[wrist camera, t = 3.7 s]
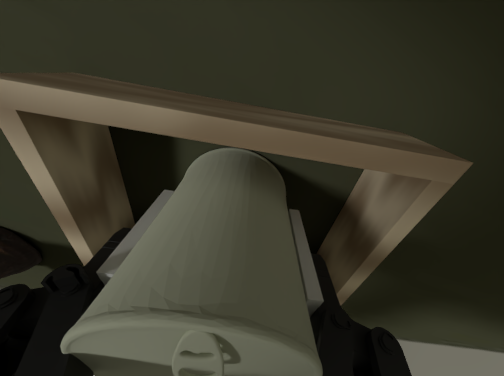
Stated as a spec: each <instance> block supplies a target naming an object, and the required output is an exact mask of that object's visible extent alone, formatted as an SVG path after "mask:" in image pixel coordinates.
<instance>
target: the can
mask: <svg viewBox="0 0 504 376" xmlns="http://www.w3.org/2000/svg"><path fill="white" fill-rule="evenodd" d="M60 347H61V351H62V353H63V354H68V353H70V354H72V355H74V356H75V357H77V358H78V359H80V360H81V361H82V362H83V363H84V364H86V365H87V366H88V367H89V368H90V369H91V370H92V371H93V372H94V374H93V375H95V376H322V375H323V369H322V364H321V361H320V359H319V356H318V352H317V348H316V344H315V339H314V335H313V331H312V326H311V322H310V317H309V313H308V308H307V304H306V299H305V294H304V289H303V285H302V280H301V275H300V270H299V265H298V260H297V255H296V250H295V245H294V240H293V235H292V231H291V225H290V220H289V214H288V209H287V203H286V188H285V184H284V181H283V178H282V176H281V174H280V173H279V171H278V170H277V169H276V167H275V166H274V165H273V164H272V163H271V162H269V161H268V160H267V159H266V158H264V157H263V156H261V155H259V154H257V153H255V152H252V151H249V150H246V149H241V148H220V149H216V150H212V151H210V152H207V153H205V154H203V155H201V156H200V157H198V158H197V159H196V160H195V161H194V162H193V163H192V164H191V165H190V167H189V168H188V170H187V172H186V174H185V176H184V178H183V180H182V181H181V183H180V184H179V186H178V187H177V189H176V190H175V191H174V193H173V194H172V196H171V197H170V198H169V200H168V201H167V203H166V204H165V205H164V207H163V208H162V210H161V211H160V212H159V214H158V215H157V216H156V218H155V219H154V221H153V222H152V223H151V225H150V226H149V227H148V229H147V230H146V231H145V233H144V234H143V236H142V237H141V238H140V240H139V241H138V242H137V244H136V245H135V246H134V248H133V249H132V250H131V252H130V253H129V254H128V256H127V257H126V259H125V260H124V261H123V263H122V264H121V265H120V267H119V268H118V269H117V271H116V272H115V273H114V275H113V276H112V277H111V279H110V280H109V281H108V283H107V284H106V285H105V287H104V288H103V289H102V291H101V292H100V293H99V295H98V296H97V297H96V298H95V300H94V301H93V302H92V304H91V305H90V306H89V308H88V309H87V310H86V312H85V313H84V314H83V315H82V316H81V318H80V319H79V320H78V321H77V322H76V324H75V325H74V326H73V327H72V328H70V330H69V331H68V332H67V333H66V334H65V336H64V337H63V339H62V342H61V345H60Z"/></svg>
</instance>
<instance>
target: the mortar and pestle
mask: <svg viewBox="0 0 504 376" xmlns="http://www.w3.org/2000/svg"><path fill="white" fill-rule="evenodd" d="M41 261H42V258H41V254H40V252H39V251H38V250H36V249H35V248H34V247H33V246H31V245H30V244H29V243H28V242H26V241H25V240H23V239H22V238H20V237H19V236H17V235H16V234H14V233H13V232H11V231H9V230H6V229H4V228H0V279H1V278H3V277H6V276H10V275H13V274H17V273H21V272H23V271H26V270H28V269H30V268H32V267H33V266H35V265H37V264H39V263H40V262H41Z"/></svg>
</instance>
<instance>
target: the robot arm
mask: <svg viewBox="0 0 504 376" xmlns="http://www.w3.org/2000/svg"><path fill="white" fill-rule="evenodd" d="M173 193H174V191H170V190H164V191H163V192H162V193H161V194H160V195H159V197H158V198H157V199H156V200H155V201H154V203H153V204H152V205H151V206H150V208H149V209H148V210H147V211H146V212H145V214H144V215H143V216H142V217H141V218H140V220H139V221H138V222H137V223H136V225H135V226H134V227H133V228H125V227H123V228H122V229H120V230H119V231H117V232H116V233H114V234H113V235H112V237H111V238H110V239H109V240H108V242H106V243H105V244H104V245H103V246H102V248H101V249H100V250H99V251H98V252H97V253H96V254H95V255H94V256H93V257H92V259H91V260H90V261H89V262H88V263H87V264H86V265H85V266H84V267H83V268H82V266H81V265H78V264H68V265H65V266H62V267H59V268H57V269H56V270H54V271H52V272H51V273H50V274H48V275H47V276H46V277H45V278H44V279H43V281H42V282H41V284H42V285H43V286H44V287H42V288H36V289H30V288H29V287H28V286H26V285H25V284H16V285H11V286H8V287H6V288H3V289H1V290H0V376H93V374H94V372H93V371H92V370H91V369H90V368H89V367H88V366H87V365H86V364H84V363H83V362H82V361H81V360H80V359H78V358H77V357H75V356H74V355H72V354H70V353H68V354H63V353H62V351H61V347H60V345H61V342H62V339H63V337H64V336H65V334H66V333H67V332H68V331H69V330H70V328H72V327H73V326H74V325H75V324H76V322H77V321H78V320H79V319H80V318H81V316H82V315H83V314H84V313H85V312H86V310H87V309H88V308H89V306H90V305H91V304H92V302H93V301H94V300H95V298H96V297H97V296H98V295H99V293H100V292H101V291H102V289H103V288H104V287H105V285H106V284H107V283H108V281H109V280H110V279H111V277H112V276H113V275H114V273H115V272H116V271H117V269H118V268H119V267H120V265H121V264H122V263H123V261H124V260H125V259H126V257H127V256H128V254H129V253H130V252H131V250H132V249H133V248H134V246H135V245H136V244H137V242H138V241H139V240H140V238H141V237H142V236H143V234H144V233H145V231H146V230H147V229H148V227H149V226H150V225H151V223H152V222H153V221H154V219H155V218H156V216H157V215H158V214H159V212H160V211H161V210H162V208H163V207H164V205H165V204H166V203H167V201H168V200H169V198H170V197H171V196H172V194H173ZM288 214H289V220H290V225H291V231H292V235H293V240H294V245H295V250H296V255H297V260H298V265H299V270H300V275H301V280H302V285H303V289H304V294H305V299H306V304H307V308H308V313H309V317H310V322H311V326H312V331H313V335H314V339H315V344H316V348H317V352H318V356H319V359H320V361H321V364H322V369H323V375H322V376H412V375H411V373H410V370H409V367H408V364H407V362H406V359H405V356H404V353H403V350H402V348H401V346H400V344H399V342H398V341H397V340H396V338H395V337H394V336H393V335H392V334H391V333H390V332H389V331H387V330H385V329H384V328H382V327H375V328H373V329H372V330H371V329H369V328H367V327H365V326H363V325H361V324H359V323H357V322H355V321H353V320H352V319H351V318H350V317H349V316H348V314H347V313H346V312H345V311H344V310H343V309H342V308H341V306H340V303H339V300H338V298H337V295H336V292H335V289H334V286H333V283H332V280H331V278H330V274H329V272H328V268H327V265H326V262H325V261H324V259H323V258H322V257H321V255H319V254H312V253H310V249H309V245H308V242H307V238H306V234H305V231H304V227H303V223H302V220H301V216H300V212H299V210H294V209H289V211H288Z"/></svg>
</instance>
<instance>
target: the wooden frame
mask: <svg viewBox="0 0 504 376" xmlns="http://www.w3.org/2000/svg"><path fill="white" fill-rule="evenodd" d="M108 126H114V127H120V128H126V129H132V130H138V131H143V132H149V133H155V134H161V135H167V136H173V137H179V138H185V139H191V140H197V141H202V142H208V143H214V144H220V145H226V146H232V147H238V148H244V149H250V150H255V151H261V152H267V153H273V154H279V155H285V156H291V157H297V158H303V159H309V160H314V161H320V162H326V163H332V164H338V165H344V166H350V167H356V168H362V169H364V171H363V173H362V175H361V176H360V178H359V180H358V182H357V183H356V185H355V187H354V189H353V190H352V192H351V194H350V196H349V197H348V199H347V201H346V203H345V204H344V206H343V208H342V210H341V211H340V213H339V215H338V217H337V218H336V220H335V222H334V224H333V225H332V227H331V229H330V231H329V232H328V234H327V236H326V238H325V239H324V241H323V243H322V245H321V246H320V248H319V250H318V252H317V253H316V254H319V255H321V257H322V258H323V259H324V261H325V262H326V265H327V268H328V272H329V274H330V278H331V280H332V283H333V286H334V289H335V292H336V295H337V298H338V300H339V303H340V306H341V305H342V304H343V303H344V302H345V301H346V300H347V299H348V298H349V296H350V295H351V294H352V293H353V292H354V291H355V290H356V289H357V288H358V287H359V286H360V285H361V284H362V282H363V281H364V280H365V279H366V278H367V277H368V276H369V275H370V274H371V273H372V272H373V271H374V270H375V268H376V267H377V266H378V265H379V264H380V263H381V262H382V261H383V260H384V259H385V258H386V257H387V256H388V254H389V253H390V252H391V251H392V250H393V249H394V248H395V247H396V246H397V245H398V244H399V243H400V242H401V241H402V239H403V238H404V237H405V236H406V235H407V234H408V233H409V232H410V231H411V230H412V229H413V228H414V227H415V225H416V224H417V223H418V222H419V221H420V220H421V219H422V218H423V217H424V216H425V215H426V214H427V213H428V211H429V210H430V209H431V208H432V207H433V206H434V205H435V204H436V203H437V202H438V201H439V200H440V199H441V197H442V196H443V195H444V194H445V193H446V192H447V191H448V190H449V189H450V188H451V187H452V186H453V185H454V184H455V182H456V181H457V180H458V179H459V178H460V177H461V176H462V175H463V174H464V173H465V172H466V171H467V170H468V168H469V167H470V166H471V165H472V164H473V163H472V162H470V161H468V160H465V159H463V158H461V157H458V156H456V155H454V154H451V153H449V152H447V151H444V150H442V149H440V148H437V147H435V146H433V145H430V144H428V143H426V142H423V141H421V140H419V139H416V138H414V137H412V136H409V135H407V134H405V133H401V132H396V131H390V130H385V129H379V128H374V127H368V126H363V125H357V124H352V123H346V122H341V121H335V120H330V119H325V118H319V117H314V116H308V115H303V114H297V113H292V112H286V111H281V110H275V109H270V108H264V107H259V106H254V105H248V104H243V103H237V102H232V101H226V100H221V99H215V98H210V97H204V96H199V95H193V94H188V93H182V92H177V91H172V90H166V89H161V88H155V87H150V86H144V85H139V84H133V83H128V82H122V81H117V80H111V79H106V78H100V77H95V76H90V75H84V74H79V73H0V128H1V129H2V131H3V133H4V134H5V136H6V138H7V139H8V141H9V142H10V144H11V146H12V147H13V149H14V151H15V152H16V154H17V156H18V157H19V159H20V161H21V162H22V164H23V166H24V167H25V169H26V171H27V172H28V174H29V176H30V177H31V179H32V181H33V182H34V184H35V185H36V187H37V189H38V190H39V192H40V194H41V195H42V197H43V199H44V200H45V202H46V204H47V205H48V207H49V209H50V210H51V212H52V214H53V215H54V217H55V219H56V220H57V222H58V224H59V225H60V227H61V228H62V230H63V232H64V233H65V235H66V237H67V238H68V240H69V242H70V243H71V245H72V247H73V248H74V250H75V252H76V253H77V255H78V257H79V258H80V260H81V262H82V263H83V265H84V266H85V265H86V264H87V263H88V262H89V261H90V260H91V259H92V257H93V256H94V255H95V254H96V253H97V252H98V251H99V250H100V249H101V248H102V246H103V245H104V244H105V243H106V242H108V240H109V239H110V238H111V237H112V235H113V234H114V233H116V232H117V231H119V230H120V229H122V228H123V227H125V228H133V227H134V226H135V222H134V218H133V214H132V211H131V207H130V204H129V200H128V196H127V193H126V189H125V186H124V182H123V178H122V175H121V171H120V168H119V164H118V160H117V157H116V153H115V150H114V146H113V142H112V139H111V135H110V132H109V128H108Z"/></svg>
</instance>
